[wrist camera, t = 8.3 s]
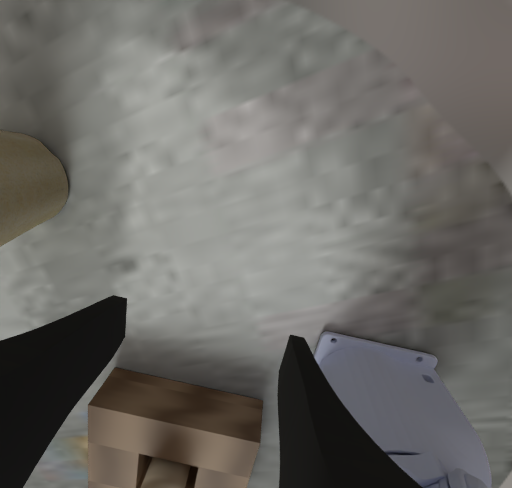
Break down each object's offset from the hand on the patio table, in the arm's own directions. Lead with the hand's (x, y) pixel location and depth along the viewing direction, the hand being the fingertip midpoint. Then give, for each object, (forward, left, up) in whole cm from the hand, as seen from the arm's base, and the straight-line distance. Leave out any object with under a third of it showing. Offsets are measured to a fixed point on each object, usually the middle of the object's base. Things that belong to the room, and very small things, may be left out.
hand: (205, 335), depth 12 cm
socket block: (+2, +21, -10) cm, 23 cm away
